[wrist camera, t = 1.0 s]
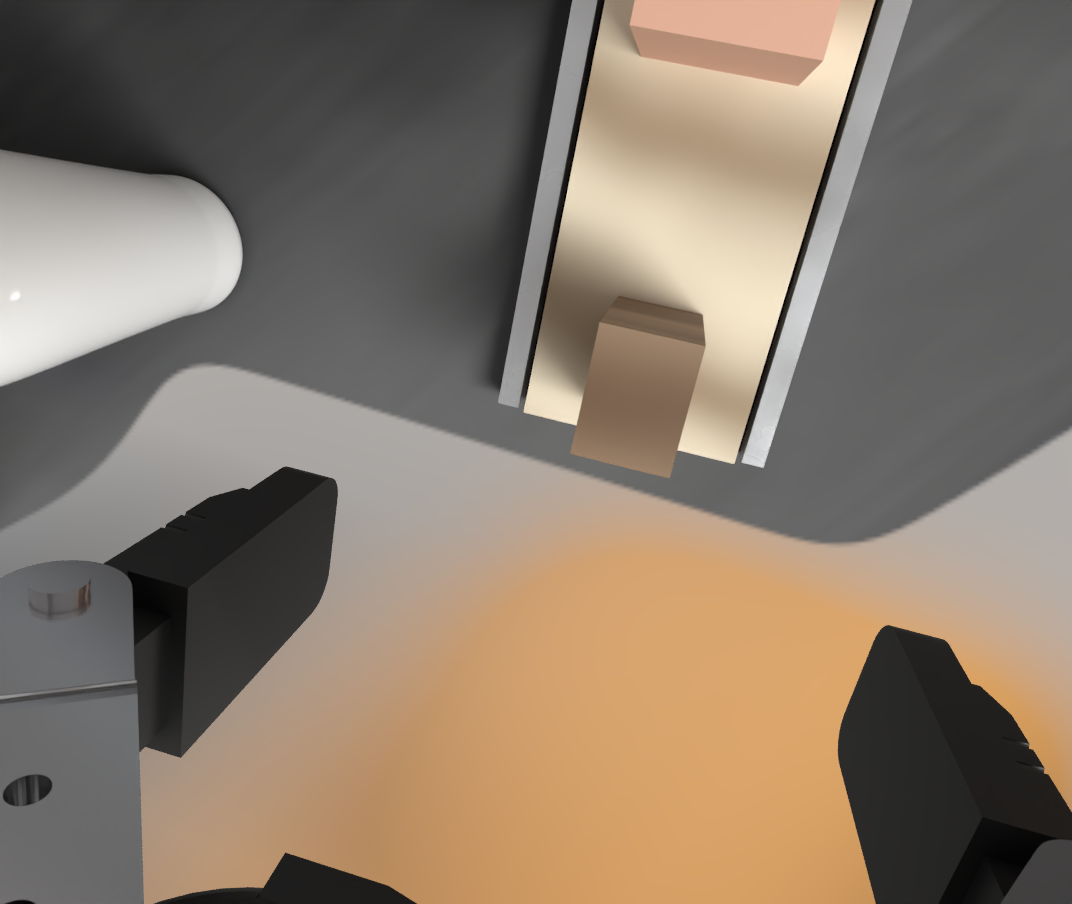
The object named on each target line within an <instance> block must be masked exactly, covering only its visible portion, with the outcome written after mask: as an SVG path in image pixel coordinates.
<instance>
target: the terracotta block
mask: <svg viewBox="0 0 1072 904" xmlns="http://www.w3.org/2000/svg"><path fill="white" fill-rule="evenodd" d="M840 2H841V0H635V2H634V6H633V11H632V16H631V21H630V28H631V30H632V33H633V36H634V39H635V41H636V44H637V47H638V49H639V52H640V55H641V57H645V58H650V59H656V60H661V61H666V62H671V63H677V64H682V65H687V66H693V67H698V68H703V69H709V70H714V71H719V72H725V73H730V74H735V75H740V76H746V77H751V78H756V79H762V80H767V81H772V82H778V83H783V84H788V85H794V86H799V85H800V84H801V83H802V82H803V81H804V80H805V79H806V78H807V77H808V76H809V75H810V74H811V73H812V72H813V71H814V70H815V69H816V68H817V67H818V66H819V65H820V64H821V63H822V62H823V60H824V57H825V53H826V50H827V46H828V43H829V40H830V36H831V33H832V29H833V26H834V22H835V19H836V15H837V12H838V9H839V5H840Z"/></svg>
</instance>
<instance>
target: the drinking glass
mask: <svg viewBox="0 0 1072 904" xmlns="http://www.w3.org/2000/svg"><path fill="white" fill-rule="evenodd" d="M242 259H243V251H242V242H241V237H240V233H239V230H238V227H237V225H236V223H235V220H234V218H233V216H232V215H231V213H230V211H229V210H228V208H227V207H226V206H225V204H224V203H223V202H222V201H221V200H220V199H219V198H218V197H217V196H216V195H215V194H214V193H213V192H212V191H211V190H209V189H208V188H206V187H205V186H203V185H202V184H200V183H198V182H196V181H194V180H191V179H189V178H186V177H182V176H177V175H169V174H146V173H139V172H133V171H127V170H120V169H114V168H108V167H102V166H96V165H90V164H84V163H78V162H72V161H66V160H60V159H54V158H48V157H43V156H37V155H31V154H25V153H20V152H14V151H8V150H2V149H0V387H2V386H5V385H8V384H11V383H13V382H16V381H19V380H22V379H25V378H27V377H30V376H32V375H35V374H38V373H40V372H43V371H45V370H48V369H50V368H53V367H55V366H58V365H60V364H63V363H65V362H68V361H71V360H73V359H76V358H78V357H81V356H83V355H86V354H88V353H91V352H93V351H96V350H98V349H101V348H103V347H106V346H108V345H111V344H113V343H116V342H118V341H121V340H123V339H126V338H128V337H131V336H134V335H136V334H139V333H141V332H144V331H146V330H149V329H152V328H154V327H157V326H159V325H162V324H165V323H167V322H170V321H173V320H175V319H178V318H181V317H185V316H189V315H193V314H197V313H201V312H204V311H207V310H209V309H211V308H213V307H215V306H217V305H218V304H220V303H221V302H222V301H223V300H224V299H225V298H226V297H227V296H228V295H229V294H230V293H231V291H232V290H233V288H234V287H235V285H236V283H237V281H238V278H239V276H240V272H241V267H242Z"/></svg>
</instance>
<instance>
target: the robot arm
mask: <svg viewBox="0 0 1072 904" xmlns="http://www.w3.org/2000/svg"><path fill="white" fill-rule="evenodd" d="M337 497H338V489H337V484H336V481H335V480H334V479H333V478H329V477H325V476H321V475H317V474H314V473H310V472H305V471H302V470H298V469H294V468H290V467H283V468H281V469H279V470H278V471H277V472H275V473H273V474H272V475H270V476H269V477H267V478H266V479H264V480H263V481H261V482H260V483H258V484H257V485H256V486H254V487H252V488H251V489H250V490H248V489H245V488H241V489H237V490H234V491H230V492H226V493H223V494H219V495H216V496H213V497H209V498H207V499H206V500H204V501H203V502H201V503H200V504H198V505H196V506H195V507H193V508H192V509H190V510H188V511H187V512H186V514H185V516H183V515H180V516H179V517H177V518H176V519H174V520H172V521H171V522H169V523H168V524H167V525H166V527H165V528H160V529H158V530H156V531H155V532H153V533H152V534H150V535H149V536H147V537H145V538H144V539H142V540H141V541H139V542H137V543H136V544H134V545H133V546H131V547H130V548H128V549H127V550H125V551H123V552H121V553H120V554H118V555H117V556H115V557H113V558H112V559H110V560H109V561H107V562H105V563H104V564H101V563H97V562H90V561H77V560H67V561H53V562H46V563H41V564H36V565H32V566H28V567H25V568H22V569H19V570H16V571H14V572H12V573H9V574H7V575H5V576H3V577H2V578H0V904H144V895H143V894H144V893H143V861H142V826H141V793H140V761H139V752H140V751H141V750H142V749H143V748H144V747H148V748H151V749H155V750H158V751H161V752H164V753H167V754H170V755H174V756H177V757H180V758H181V757H182V756H183V755H184V754H185V752H186V751H187V750H188V749H189V748H190V747H191V746H192V745H193V744H194V743H195V742H196V740H197V739H198V738H199V737H200V736H201V735H202V734H203V733H204V732H205V730H206V729H207V728H208V727H209V726H210V725H211V724H212V723H213V722H214V721H215V719H216V718H217V717H218V716H219V715H220V714H221V713H222V712H223V711H224V709H225V708H226V707H227V706H228V705H229V704H230V703H231V702H232V700H234V698H235V697H236V696H237V695H238V694H239V693H240V692H241V691H242V690H243V689H244V687H245V686H246V685H247V684H248V683H249V682H250V681H251V680H252V679H253V678H254V676H255V675H256V674H257V673H258V672H259V671H260V670H261V668H262V667H263V666H264V665H265V664H266V663H267V662H268V661H269V660H270V659H271V658H272V656H273V655H274V654H275V653H276V652H277V651H278V650H279V649H280V648H281V647H282V646H283V644H284V643H285V642H286V641H287V640H288V639H289V638H290V637H291V636H292V634H293V633H294V632H295V631H296V630H297V629H298V628H299V627H300V626H301V625H302V623H303V622H304V621H305V620H306V619H307V618H308V617H309V616H310V615H311V614H312V612H313V611H314V609H315V608H316V607H317V605H318V603H319V601H320V599H321V597H322V595H323V592H324V589H325V586H326V583H327V580H328V575H329V567H330V559H331V550H332V540H333V532H334V524H335V515H336V506H337ZM838 758H839V764H840V768H841V772H842V776H843V779H844V784H845V787H846V791H847V795H848V799H849V802H850V806H851V810H852V814H853V818H854V822H855V825H856V829H857V833H858V837H859V841H860V845H861V849H862V852H863V856H864V860H865V864H866V868H867V871H868V875H869V879H870V883H871V887H872V891H873V894H874V898H875V902H876V904H1072V812H1071V810H1070V809H1069V807H1068V806H1067V804H1066V802H1065V801H1064V799H1063V798H1062V796H1061V794H1060V793H1059V791H1058V789H1057V788H1056V786H1055V785H1054V783H1053V781H1052V780H1051V778H1050V776H1049V775H1047V774H1044V767H1043V765H1042V763H1041V762H1040V760H1039V759H1038V757H1037V755H1036V754H1035V752H1034V751H1033V750H1031V749H1029V743H1028V741H1027V739H1026V738H1025V736H1024V734H1023V733H1022V731H1021V730H1020V728H1019V727H1018V725H1017V723H1016V721H1015V720H1014V718H1013V717H1012V715H1011V714H1010V713H1009V712H1008V711H1007V710H1006V709H1004V708H1003V707H1002V706H1001V705H1000V704H999V703H998V702H997V701H996V700H995V699H994V698H993V697H991V696H990V695H989V694H988V693H987V692H986V691H985V690H984V689H983V688H982V687H981V686H977V685H974V684H971V682H970V680H969V679H968V677H967V675H966V673H965V672H964V670H963V668H962V666H961V665H960V663H959V661H958V659H957V658H956V656H955V654H954V653H953V651H952V649H951V647H950V646H949V644H948V643H947V642H946V641H945V640H943V639H939V638H935V637H932V636H928V635H924V634H920V633H916V632H912V631H909V630H905V629H901V628H897V627H893V626H889V625H887V626H885V627H883V628H882V629H881V630H880V632H879V633H878V634H877V636H876V638H875V640H874V642H873V645H872V647H871V650H870V652H869V655H868V657H867V660H866V662H865V664H864V667H863V669H862V672H861V674H860V677H859V679H858V682H857V684H856V687H855V689H854V692H853V694H852V696H851V699H850V701H849V704H848V706H847V709H846V712H845V714H844V717H843V720H842V723H841V727H840V733H839V740H838ZM155 904H416V903H415V902H413V901H412V900H410V899H408V898H407V897H405V896H404V895H402V894H400V893H399V892H397V891H395V890H394V889H392V888H391V887H389V886H387V885H384V884H381V883H377V882H375V881H371V880H368V879H365V878H362V877H359V876H356V875H353V874H350V873H347V872H343V871H340V870H337V869H334V868H331V867H328V866H325V865H322V864H319V863H316V862H312V861H309V860H306V859H303V858H300V857H297V856H294V855H290V854H288V853H285V854H284V856H283V857H282V859H281V860H280V862H279V864H278V865H277V867H276V869H275V870H274V872H273V873H272V875H271V877H270V878H269V880H268V881H267V883H266V885H265V886H264V888H253V887H247V888H225V889H216V890H209V891H203V892H196V893H190V894H187V895H183V896H179V897H175V898H171V899H167V900H164V901H160V902H157V903H155Z"/></svg>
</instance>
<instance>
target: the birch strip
mask: <svg viewBox="0 0 1072 904" xmlns="http://www.w3.org/2000/svg"><path fill="white" fill-rule="evenodd" d="M634 2H635V0H605V3H604V8H603V13H602V18H601V23H600V28H599V33H598V38H597V43H596V48H595V53H594V58H593V63H592V68H591V74H590V79H589V84H588V89H587V94H586V99H585V104H584V109H583V114H582V119H581V124H580V129H579V134H578V139H577V144H576V150H575V155H574V160H573V165H572V170H571V175H570V180H569V185H568V190H567V195H566V200H565V205H564V210H563V215H562V220H561V225H560V231H559V236H558V241H557V246H556V251H555V256H554V261H553V266H552V271H551V276H550V281H549V286H548V291H547V296H546V301H545V307H544V312H543V317H542V322H541V327H540V332H539V337H538V342H537V347H536V352H535V357H534V362H533V367H532V372H531V377H530V383H529V388H528V393H527V398H526V403H525V408H524V413H528V414H532V415H537V416H541V417H545V418H549V419H553V420H557V421H561V422H565V423H569V424H573V425H576V430H575V434H574V439H573V443H572V448H571V452H570V454H574V455H578V456H582V457H586V458H590V459H594V460H598V461H602V462H606V463H610V464H614V465H618V466H622V467H626V468H630V469H634V470H638V471H642V472H646V473H650V474H654V475H658V476H662V477H666V478H670V475H671V471H672V468H673V464H674V460H675V457H676V453H677V450H679V451H683V452H687V453H691V454H696V455H700V456H704V457H708V458H712V459H716V460H720V461H724V462H728V463H732V464H734V463H735V460H736V456H737V453H738V450H739V447H740V443H741V440H742V437H743V433H744V430H745V427H746V424H747V420H748V417H749V414H750V410H751V407H752V404H753V401H754V397H755V394H756V391H757V387H758V384H759V381H760V378H761V374H762V371H763V368H764V364H765V361H766V358H767V355H768V351H769V348H770V345H771V341H772V338H773V335H774V332H775V328H776V325H777V322H778V318H779V315H780V312H781V309H782V305H783V302H784V299H785V295H786V292H787V289H788V286H789V282H790V279H791V276H792V272H793V269H794V266H795V263H796V259H797V256H798V253H799V249H800V246H801V243H802V240H803V236H804V233H805V230H806V226H807V223H808V220H809V217H810V213H811V210H812V207H813V203H814V200H815V197H816V194H817V190H818V187H819V184H820V180H821V177H822V174H823V171H824V167H825V164H826V161H827V157H828V154H829V151H830V148H831V144H832V141H833V138H834V135H835V131H836V128H837V125H838V121H839V118H840V115H841V112H842V108H843V105H844V102H845V98H846V95H847V92H848V89H849V85H850V82H851V79H852V75H853V72H854V69H855V66H856V62H857V59H858V56H859V52H860V49H861V46H862V43H863V39H864V36H865V33H866V29H867V26H868V23H869V20H870V16H871V13H872V10H873V6H874V3H875V0H841V2H840V5H839V9H838V12H837V15H836V19H835V22H834V26H833V29H832V33H831V36H830V40H829V43H828V46H827V50H826V53H825V57H824V60H823V62H822V63H821V64H820V65H819V66H818V67H817V68H816V69H815V70H814V71H813V72H812V73H811V74H810V75H809V76H808V77H807V78H806V79H805V80H804V81H803V82H802V83H801V84H800V85H799V86H794V85H788V84H783V83H778V82H772V81H767V80H762V79H756V78H751V77H746V76H740V75H735V74H730V73H725V72H719V71H714V70H709V69H703V68H698V67H693V66H687V65H682V64H677V63H671V62H666V61H661V60H656V59H650V58H645V57H641V55H640V52H639V49H638V47H637V44H636V41H635V39H634V36H633V33H632V30H631V28H630V21H631V16H632V11H633V6H634Z"/></svg>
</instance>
